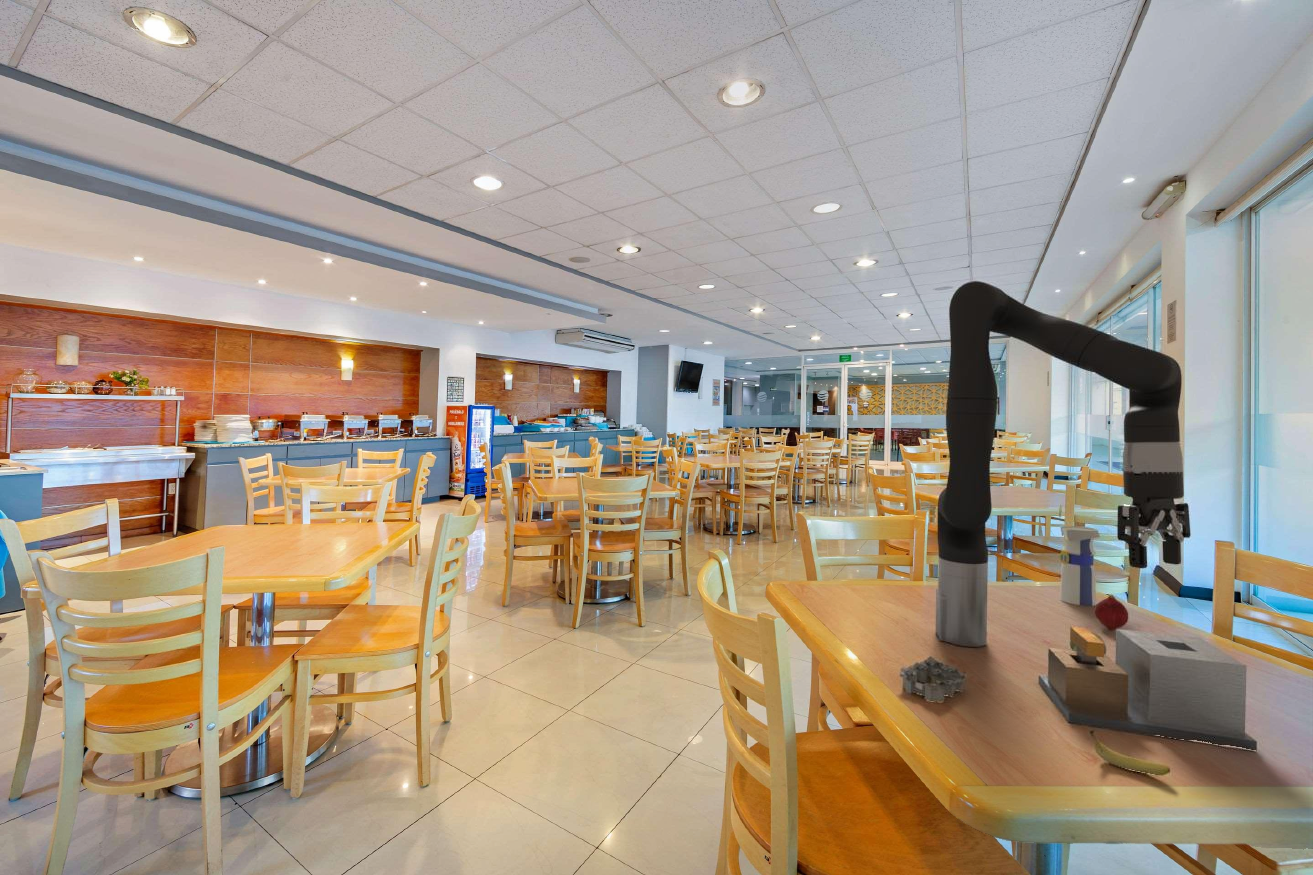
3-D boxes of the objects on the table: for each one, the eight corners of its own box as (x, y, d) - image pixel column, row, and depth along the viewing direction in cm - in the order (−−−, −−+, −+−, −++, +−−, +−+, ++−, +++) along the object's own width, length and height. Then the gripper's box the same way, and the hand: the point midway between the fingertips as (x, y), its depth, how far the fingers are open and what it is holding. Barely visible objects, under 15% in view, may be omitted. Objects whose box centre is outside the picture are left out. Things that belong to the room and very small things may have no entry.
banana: (1087, 760, 74) (1088, 731, 74) (1088, 755, 75) (1088, 726, 75) (1170, 786, 69) (1170, 755, 69) (1169, 779, 70) (1169, 749, 70)
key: (1103, 695, 85) (1104, 643, 85) (1086, 693, 86) (1087, 641, 85) (1085, 676, 91) (1086, 627, 91) (1069, 674, 92) (1070, 626, 92)
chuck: (1068, 722, 83) (1070, 648, 83) (1038, 682, 97) (1039, 618, 96) (1256, 751, 76) (1258, 670, 76) (1196, 704, 89) (1197, 634, 89)
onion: (1135, 635, 120) (1135, 598, 119) (1108, 634, 120) (1109, 598, 120) (1113, 625, 125) (1114, 590, 125) (1088, 625, 126) (1088, 590, 125)
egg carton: (936, 708, 88) (936, 683, 88) (894, 689, 95) (894, 665, 94) (972, 691, 94) (972, 668, 94) (930, 674, 100) (930, 652, 100)
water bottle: (1069, 605, 139) (1071, 508, 139) (1051, 595, 148) (1053, 503, 147) (1105, 607, 138) (1107, 509, 138) (1085, 597, 147) (1087, 504, 146)
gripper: (1154, 468, 98) (1157, 558, 98) (1098, 469, 94) (1101, 564, 93) (1207, 469, 91) (1210, 567, 90) (1149, 470, 86) (1153, 573, 86)
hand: (1155, 565), depth 92 cm, fingers open, 8 cm apart
